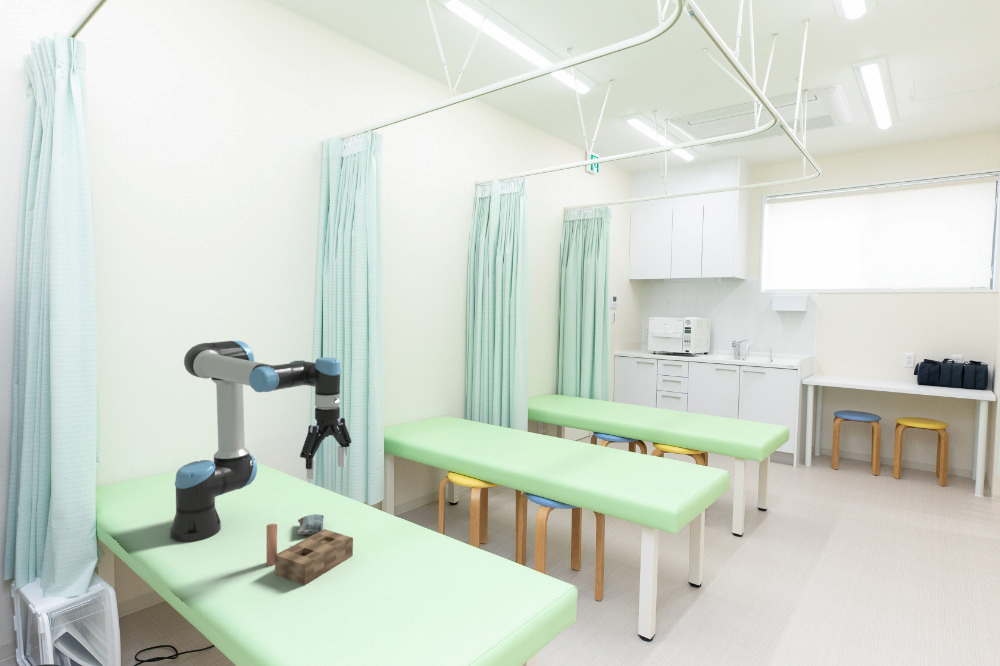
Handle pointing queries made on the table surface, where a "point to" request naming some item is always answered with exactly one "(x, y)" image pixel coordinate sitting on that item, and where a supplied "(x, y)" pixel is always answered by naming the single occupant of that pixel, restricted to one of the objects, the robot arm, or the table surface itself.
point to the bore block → (313, 556)
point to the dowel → (271, 544)
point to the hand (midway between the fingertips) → (326, 472)
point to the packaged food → (310, 524)
